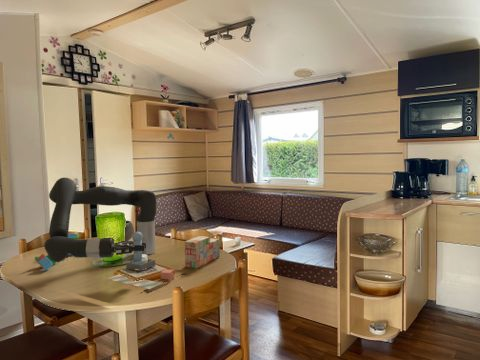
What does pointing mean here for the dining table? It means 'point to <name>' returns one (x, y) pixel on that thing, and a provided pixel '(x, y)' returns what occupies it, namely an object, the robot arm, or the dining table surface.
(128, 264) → the popper housing
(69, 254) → the snack cup
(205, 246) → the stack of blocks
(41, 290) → the dining table surface
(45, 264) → the building blocks
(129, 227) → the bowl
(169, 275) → the die
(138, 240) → the pawn
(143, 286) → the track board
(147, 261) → the white rounded block
